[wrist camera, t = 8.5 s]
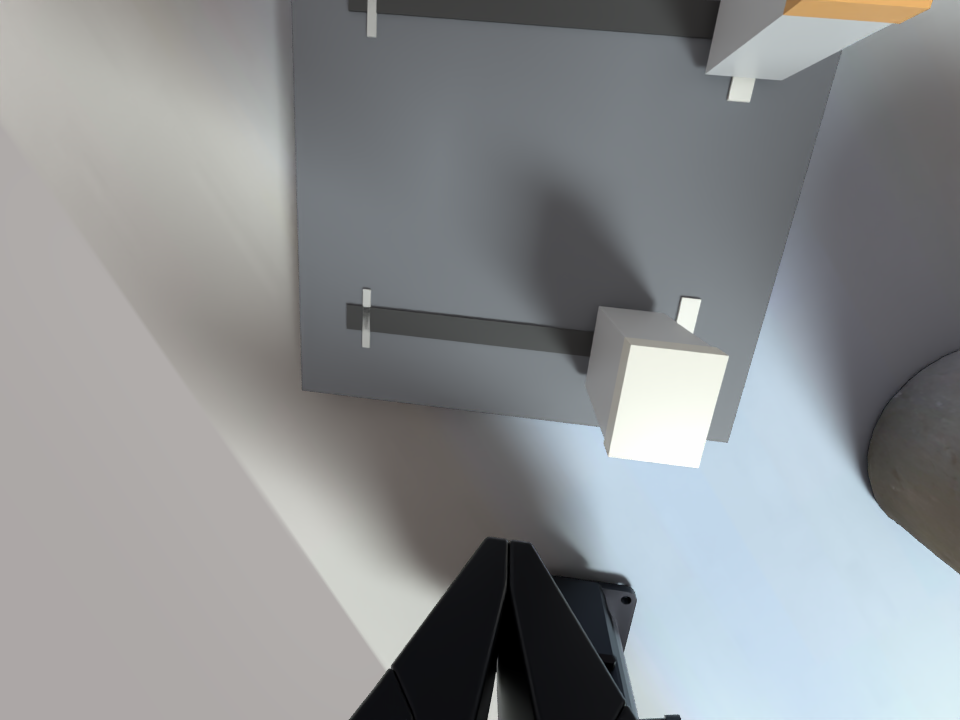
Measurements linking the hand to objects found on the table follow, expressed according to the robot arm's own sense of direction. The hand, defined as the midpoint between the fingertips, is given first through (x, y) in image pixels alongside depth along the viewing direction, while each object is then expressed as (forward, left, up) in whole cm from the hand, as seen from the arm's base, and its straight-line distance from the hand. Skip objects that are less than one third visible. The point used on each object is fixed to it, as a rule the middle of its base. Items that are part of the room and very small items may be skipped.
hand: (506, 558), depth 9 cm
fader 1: (+1, -4, -10) cm, 11 cm away
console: (+7, 0, -12) cm, 14 cm away
